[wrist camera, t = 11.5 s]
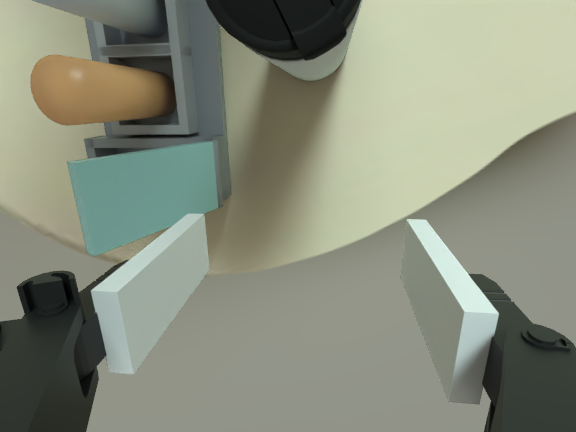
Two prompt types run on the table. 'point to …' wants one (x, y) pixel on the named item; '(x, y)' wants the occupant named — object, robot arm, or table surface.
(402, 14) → the table surface
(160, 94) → the orange capsule
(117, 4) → the ball
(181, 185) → the lid
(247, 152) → the table surface
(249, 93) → the table surface
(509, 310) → the robot arm
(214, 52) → the housing
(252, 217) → the table surface
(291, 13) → the travel mug
